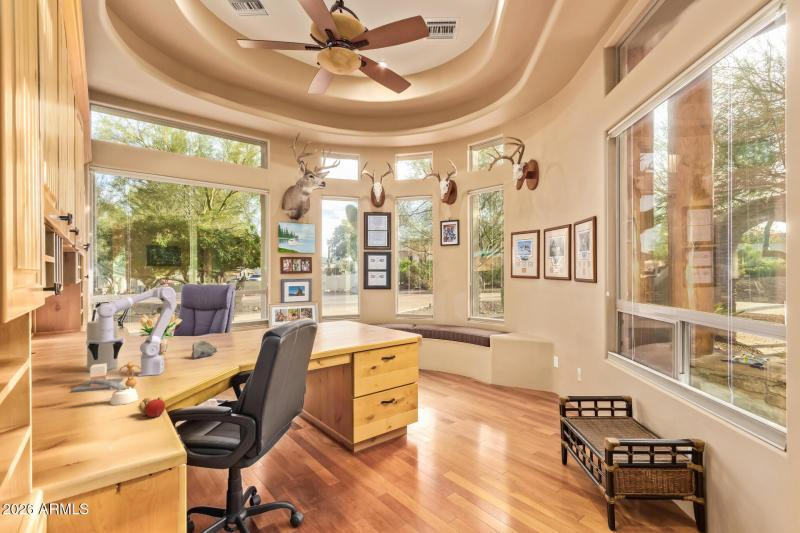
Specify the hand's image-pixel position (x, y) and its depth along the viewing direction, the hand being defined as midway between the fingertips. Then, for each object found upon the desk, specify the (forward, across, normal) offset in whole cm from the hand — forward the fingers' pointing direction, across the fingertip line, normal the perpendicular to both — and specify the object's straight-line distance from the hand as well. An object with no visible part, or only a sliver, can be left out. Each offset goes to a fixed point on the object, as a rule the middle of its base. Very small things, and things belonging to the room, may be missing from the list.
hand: (105, 359), depth 173 cm
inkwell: (+11, -14, +35) cm, 39 cm away
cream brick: (+5, 0, +6) cm, 8 cm away
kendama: (+11, -32, +50) cm, 60 cm away
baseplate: (+10, 0, +7) cm, 13 cm away
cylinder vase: (+11, +12, -27) cm, 31 cm away
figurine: (+11, -15, +15) cm, 24 cm away
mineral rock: (+11, -34, -40) cm, 54 cm away
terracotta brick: (+9, 0, +7) cm, 12 cm away
